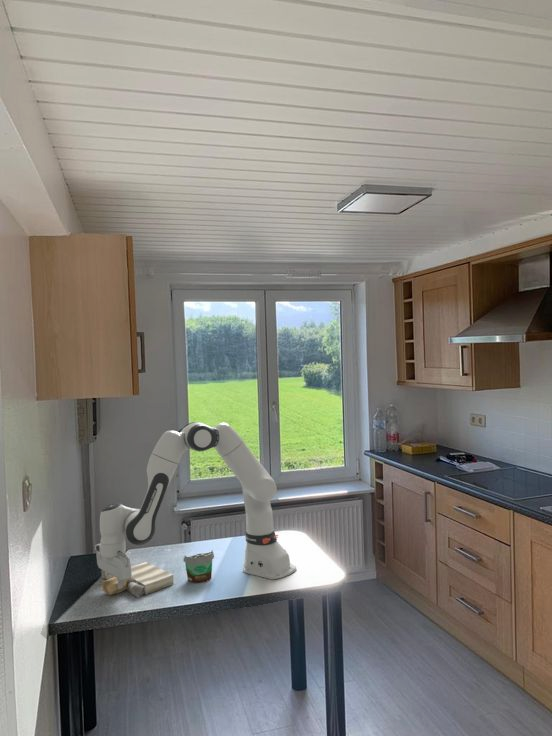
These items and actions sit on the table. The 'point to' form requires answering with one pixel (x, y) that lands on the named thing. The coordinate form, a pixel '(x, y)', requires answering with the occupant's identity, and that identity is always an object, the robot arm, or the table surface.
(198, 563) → the food container
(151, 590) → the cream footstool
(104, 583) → the tan rectangular block
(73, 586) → the table surface
